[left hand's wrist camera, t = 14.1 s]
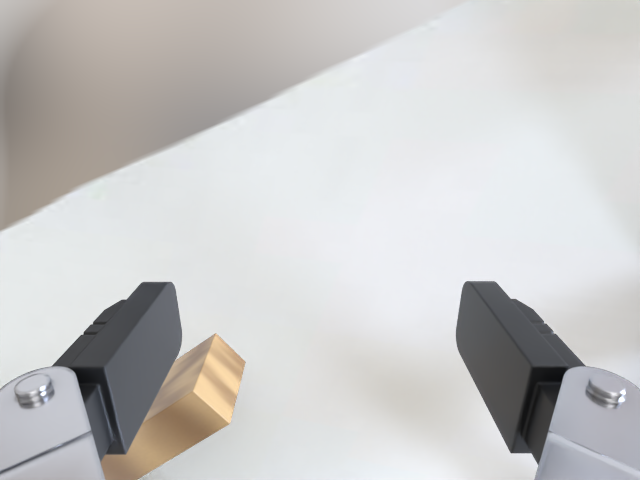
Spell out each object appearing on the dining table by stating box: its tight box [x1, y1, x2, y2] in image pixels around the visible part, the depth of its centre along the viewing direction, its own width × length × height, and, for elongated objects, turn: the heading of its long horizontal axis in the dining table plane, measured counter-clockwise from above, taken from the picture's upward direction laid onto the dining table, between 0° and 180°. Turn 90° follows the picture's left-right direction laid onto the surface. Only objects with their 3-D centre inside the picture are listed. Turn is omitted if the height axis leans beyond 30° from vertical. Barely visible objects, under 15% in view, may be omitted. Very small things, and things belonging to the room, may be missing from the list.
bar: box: [101, 334, 245, 480], centre depth 40 cm, size 25×4×8 cm, turn 127°
